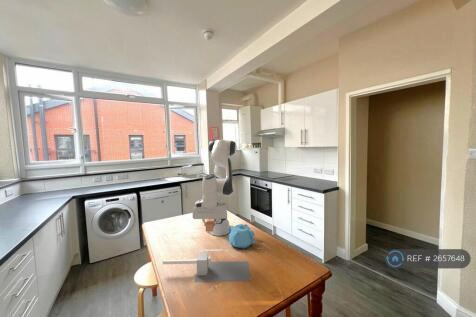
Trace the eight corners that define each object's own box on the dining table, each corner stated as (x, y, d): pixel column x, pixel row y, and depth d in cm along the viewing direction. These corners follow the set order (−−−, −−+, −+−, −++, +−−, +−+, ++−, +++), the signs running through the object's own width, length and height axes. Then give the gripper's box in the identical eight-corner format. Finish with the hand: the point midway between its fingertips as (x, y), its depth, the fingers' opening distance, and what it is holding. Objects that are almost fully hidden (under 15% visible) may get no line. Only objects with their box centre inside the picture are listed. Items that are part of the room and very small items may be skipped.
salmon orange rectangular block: (208, 224, 118) (207, 218, 118) (214, 224, 118) (214, 218, 118) (205, 231, 108) (205, 224, 108) (212, 231, 108) (212, 224, 108)
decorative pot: (230, 252, 119) (230, 230, 118) (227, 240, 135) (227, 221, 134) (256, 249, 122) (256, 228, 121) (250, 238, 137) (249, 219, 137)
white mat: (200, 250, 120) (200, 249, 120) (222, 250, 121) (222, 249, 121) (196, 262, 108) (196, 261, 107) (221, 262, 108) (221, 261, 108)
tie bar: (164, 261, 99) (164, 256, 99) (210, 260, 100) (210, 255, 100) (162, 265, 96) (162, 259, 96) (210, 264, 97) (210, 258, 97)
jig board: (199, 263, 107) (199, 248, 106) (248, 262, 107) (248, 247, 107) (194, 284, 91) (193, 266, 90) (250, 282, 91) (250, 264, 91)
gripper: (227, 200, 115) (227, 223, 116) (193, 201, 115) (194, 223, 116) (227, 203, 109) (227, 227, 110) (191, 204, 109) (192, 228, 109)
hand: (210, 225), depth 113 cm, fingers closed on salmon orange rectangular block, 4 cm apart
